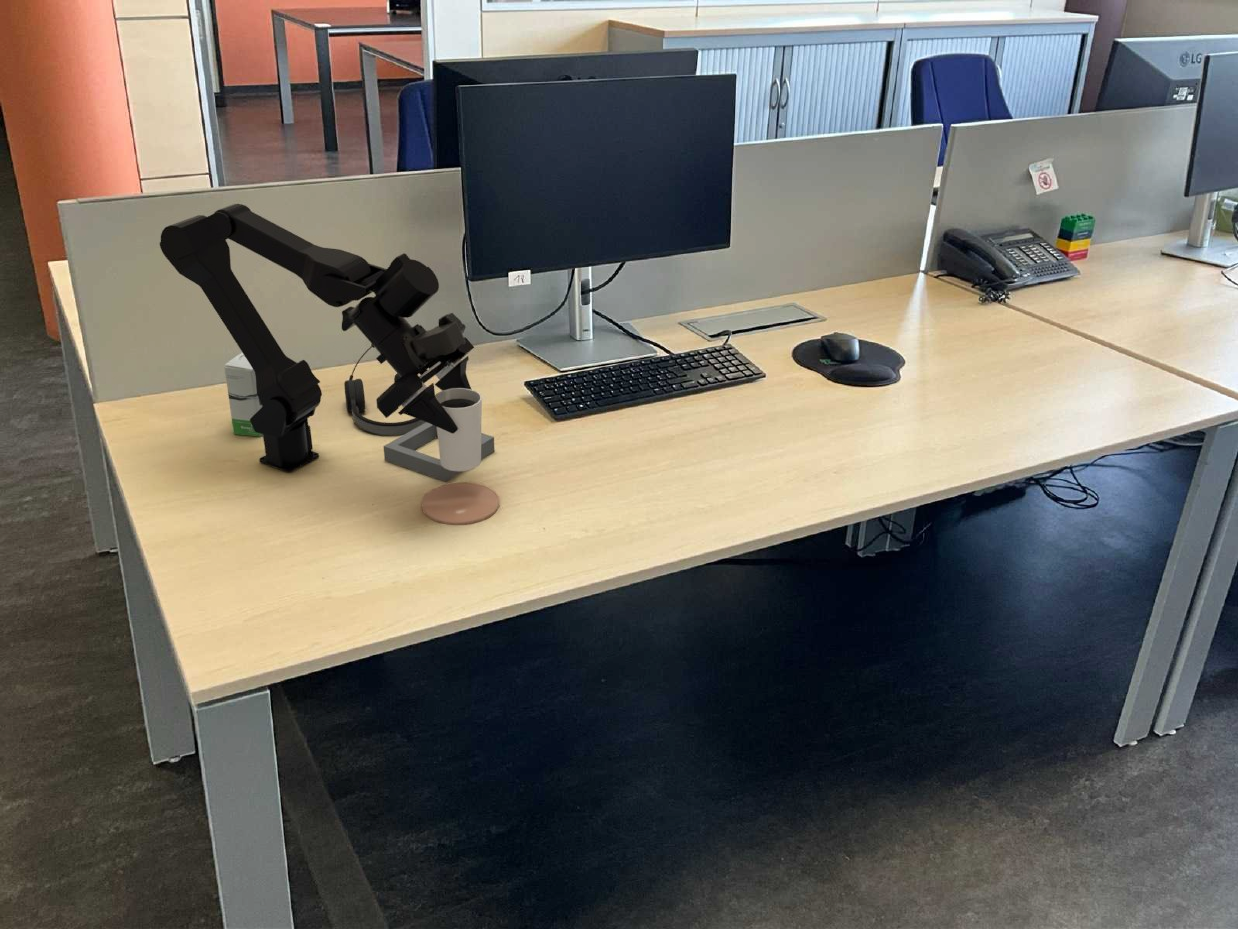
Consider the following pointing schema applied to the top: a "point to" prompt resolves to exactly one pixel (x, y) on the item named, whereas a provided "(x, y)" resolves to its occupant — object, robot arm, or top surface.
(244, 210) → the robot arm
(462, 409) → the grey cup
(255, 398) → the ink box
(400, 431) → the headset
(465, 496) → the coaster
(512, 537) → the top surface
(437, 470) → the cup holder
